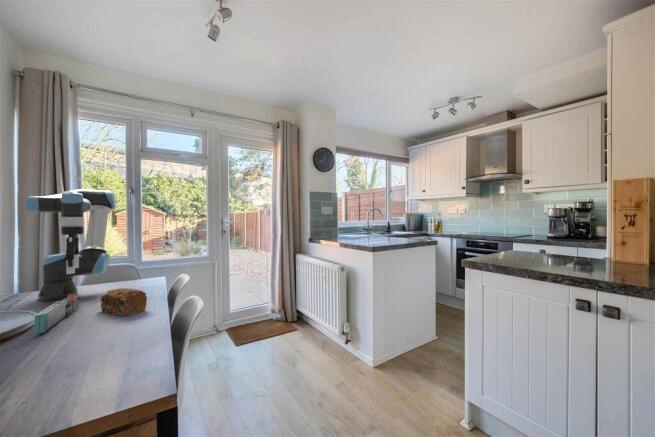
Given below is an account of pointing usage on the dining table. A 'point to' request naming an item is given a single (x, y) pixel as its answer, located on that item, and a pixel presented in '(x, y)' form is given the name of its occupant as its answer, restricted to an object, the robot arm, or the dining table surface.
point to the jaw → (54, 314)
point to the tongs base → (69, 310)
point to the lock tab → (72, 297)
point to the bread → (124, 301)
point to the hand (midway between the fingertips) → (72, 270)
